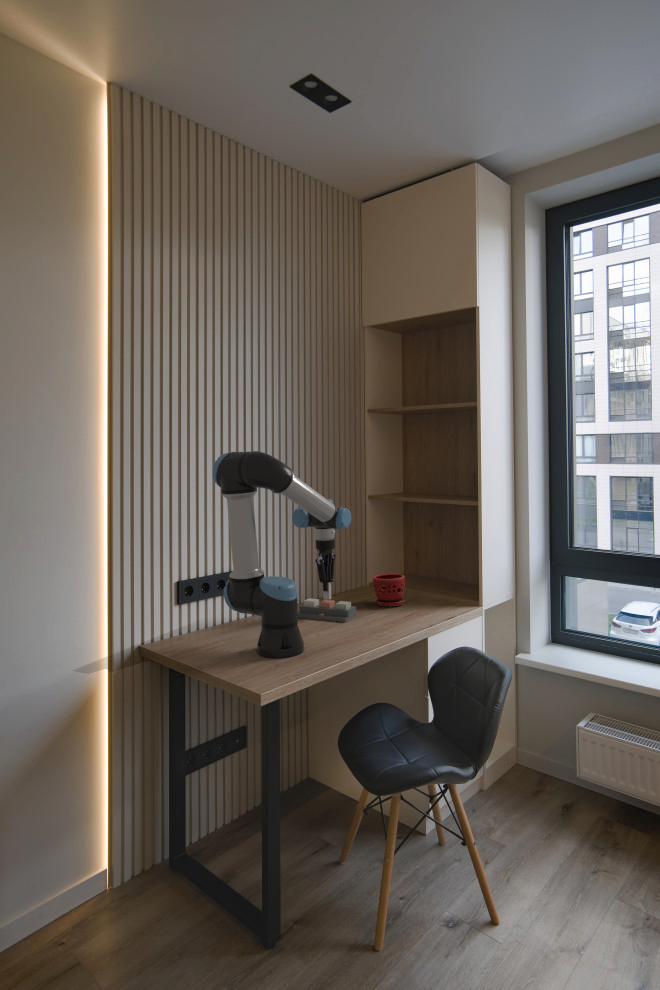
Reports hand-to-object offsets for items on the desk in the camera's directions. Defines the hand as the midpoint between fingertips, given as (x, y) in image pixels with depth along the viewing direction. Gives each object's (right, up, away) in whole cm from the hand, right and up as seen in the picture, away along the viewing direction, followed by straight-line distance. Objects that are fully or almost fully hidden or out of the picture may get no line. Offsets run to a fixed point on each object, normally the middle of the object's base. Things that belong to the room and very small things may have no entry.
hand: (327, 598), depth 239 cm
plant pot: (+26, -5, +16) cm, 31 cm away
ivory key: (-6, -4, +3) cm, 8 cm away
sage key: (+6, -4, -3) cm, 8 cm away
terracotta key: (0, -4, 0) cm, 4 cm away
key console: (0, -7, -1) cm, 7 cm away
